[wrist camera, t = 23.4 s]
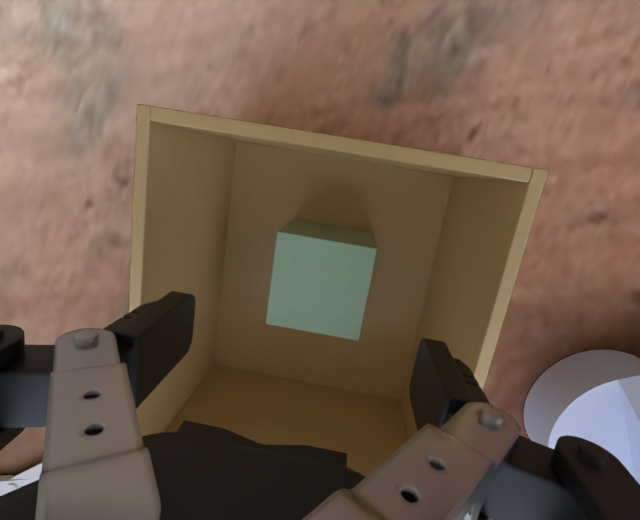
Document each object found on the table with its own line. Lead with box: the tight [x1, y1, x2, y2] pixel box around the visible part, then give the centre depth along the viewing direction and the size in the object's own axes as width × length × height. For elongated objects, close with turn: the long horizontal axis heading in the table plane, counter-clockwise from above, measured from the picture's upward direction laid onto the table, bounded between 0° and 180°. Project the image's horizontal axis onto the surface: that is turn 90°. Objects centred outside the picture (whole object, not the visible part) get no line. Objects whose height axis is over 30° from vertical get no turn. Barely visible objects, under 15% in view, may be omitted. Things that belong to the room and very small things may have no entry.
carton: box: [129, 104, 548, 477], centre depth 20 cm, size 16×14×10 cm
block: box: [265, 219, 377, 341], centre depth 22 cm, size 5×5×5 cm
